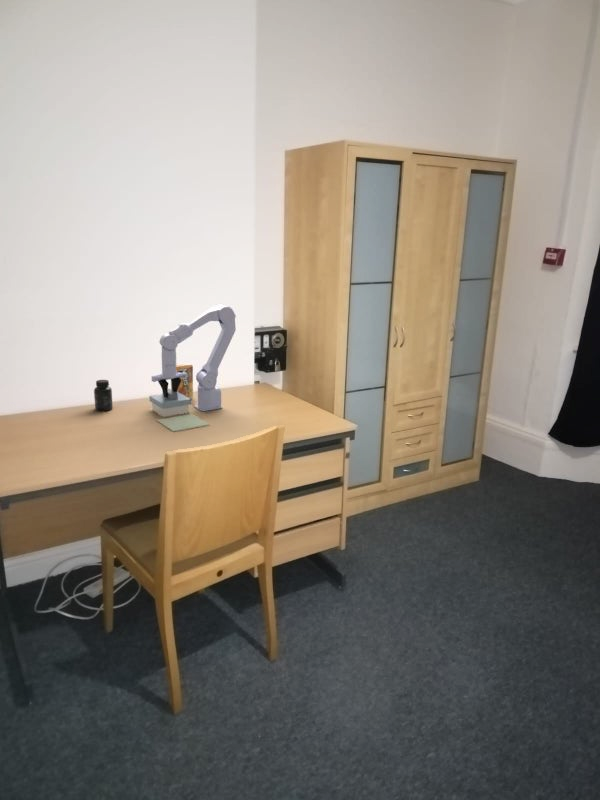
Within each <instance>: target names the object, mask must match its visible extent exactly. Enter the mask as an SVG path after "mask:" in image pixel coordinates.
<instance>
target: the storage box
mask: <svg viewBox="0 0 600 800" xmlns="http://www.w3.org/2000/svg"><path fill="white" fill-rule="evenodd" d="M151 406H152V407H151V408H152V411H153V410H154V411H153V412H155V413H156V412H157V414H158V415H159V414H160V415H159V416H161V417H162V416H163V417H162V418H167V417H173V416H178V415H177V414H179V415H185V414H189V412H190V411H189V405H183V406H177V407H171V408H164V409H162V408H160V407H158V406H157V405H155V404H154V403H152V402H151ZM184 413H185V414H184ZM172 415H173V416H172ZM166 416H167V417H166Z"/></svg>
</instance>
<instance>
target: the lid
mask: <svg viewBox="0 0 600 800" xmlns="http://www.w3.org/2000/svg"><path fill="white" fill-rule="evenodd" d="M161 390H162V389H161ZM149 402H151V404H152V403H154V404H155V405H157V406H158V407H160V408H162V409H164V408H171V407H177V406H183V405H192V399H190V398H188V397H186V396H184V395H182V394H181V393H179V392H177V393H176V392H174V391H173V390H171V388H168V398H166V397H164V394H163V390H162V393H160V394H154V395H152V394H151V395H149Z"/></svg>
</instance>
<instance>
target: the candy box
mask: <svg viewBox="0 0 600 800" xmlns="http://www.w3.org/2000/svg"><path fill="white" fill-rule="evenodd" d="M193 366H194V365H192V364H190V363H184V364H176V368H177V373H182V372H185V373H187V378H180V379H181V383H180V385H179V387H178V390H177V392H179V393H181V394H182V395H184V396H186V397H188V398H190V399H191V400H192V398H193V399H194V374H193V373H194V371H193V370H194V367H193ZM170 389H171V390H172V383H171V382H170Z"/></svg>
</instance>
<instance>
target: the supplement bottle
mask: <svg viewBox="0 0 600 800" xmlns="http://www.w3.org/2000/svg"><path fill="white" fill-rule="evenodd" d="M109 381H110V380H108V379H99V380H96V381H95V386H96V387H94V390H93V395H94V396H93V397H94V408H95V410H96V412H101V411H104V412H109V410H110V411H111V410H112V409H113V408H114V406H113V391H112V387H111V386H110V383H109Z"/></svg>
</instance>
